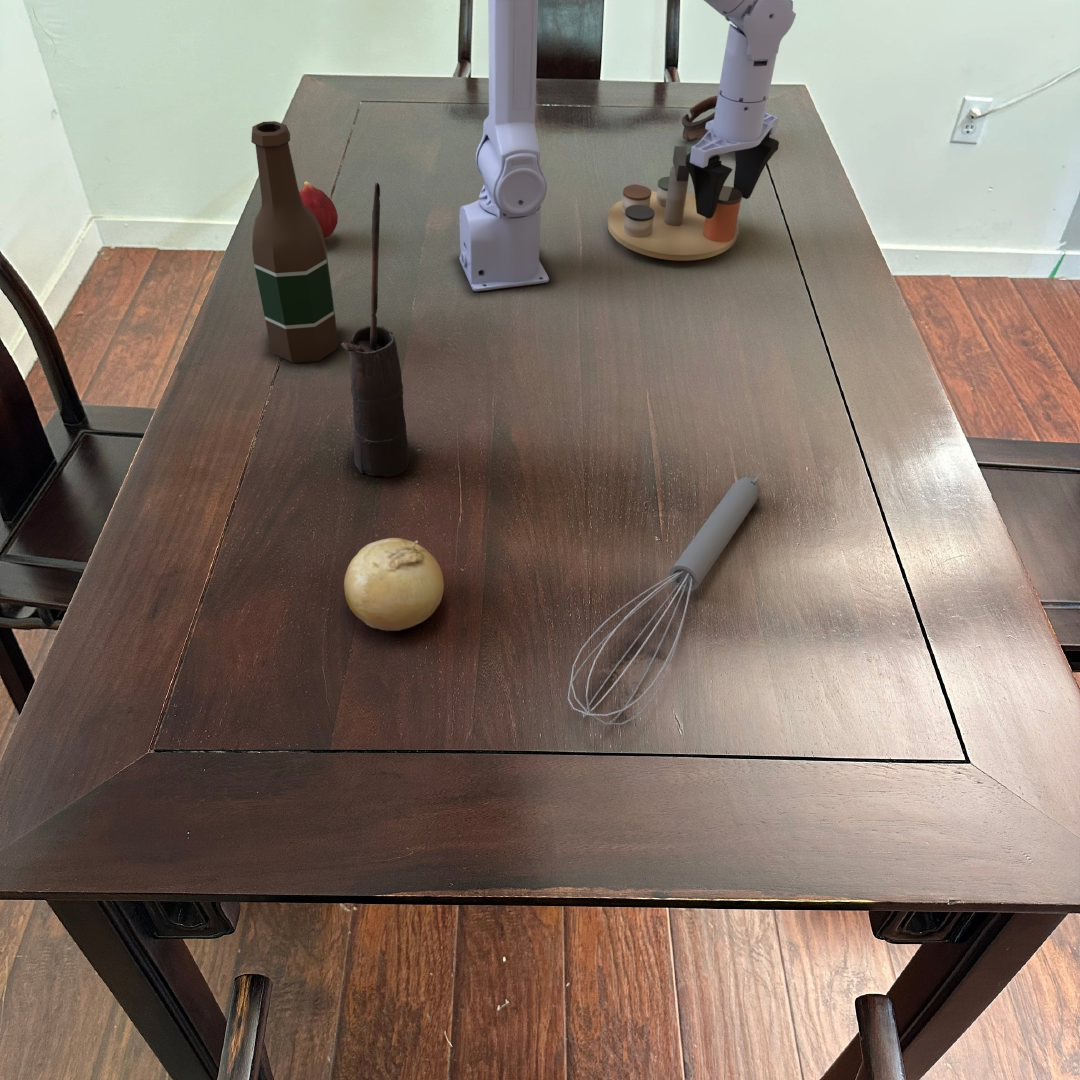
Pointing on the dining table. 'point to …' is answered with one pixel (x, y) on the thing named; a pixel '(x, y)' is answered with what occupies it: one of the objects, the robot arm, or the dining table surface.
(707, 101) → the brown curled loops
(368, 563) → the onion
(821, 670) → the dining table surface
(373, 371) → the butter churn
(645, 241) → the spice carousel
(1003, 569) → the dining table surface
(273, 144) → the beer bottle
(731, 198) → the spice jar
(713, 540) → the kitchen whisk
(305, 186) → the onion
